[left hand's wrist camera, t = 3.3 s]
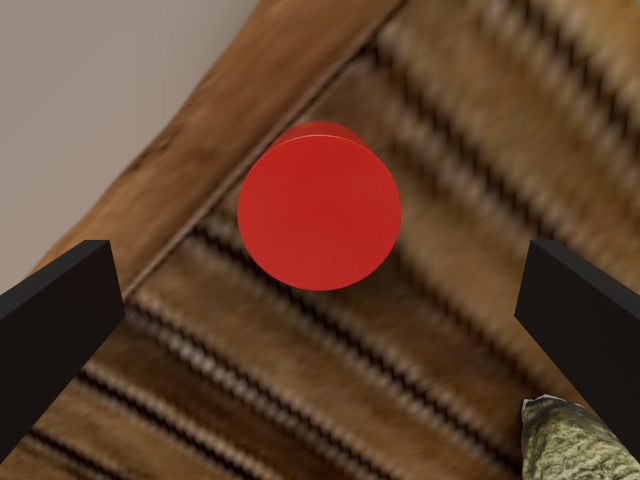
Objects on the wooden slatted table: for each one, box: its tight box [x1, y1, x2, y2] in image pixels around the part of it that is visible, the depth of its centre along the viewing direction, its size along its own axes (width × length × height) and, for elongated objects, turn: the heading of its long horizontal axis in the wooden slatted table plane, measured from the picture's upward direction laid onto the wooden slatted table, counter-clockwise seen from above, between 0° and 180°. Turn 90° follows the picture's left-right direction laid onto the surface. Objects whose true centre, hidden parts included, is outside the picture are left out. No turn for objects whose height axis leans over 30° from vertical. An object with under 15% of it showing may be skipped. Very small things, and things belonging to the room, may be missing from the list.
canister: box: [237, 121, 401, 291], centre depth 22 cm, size 8×8×8 cm
